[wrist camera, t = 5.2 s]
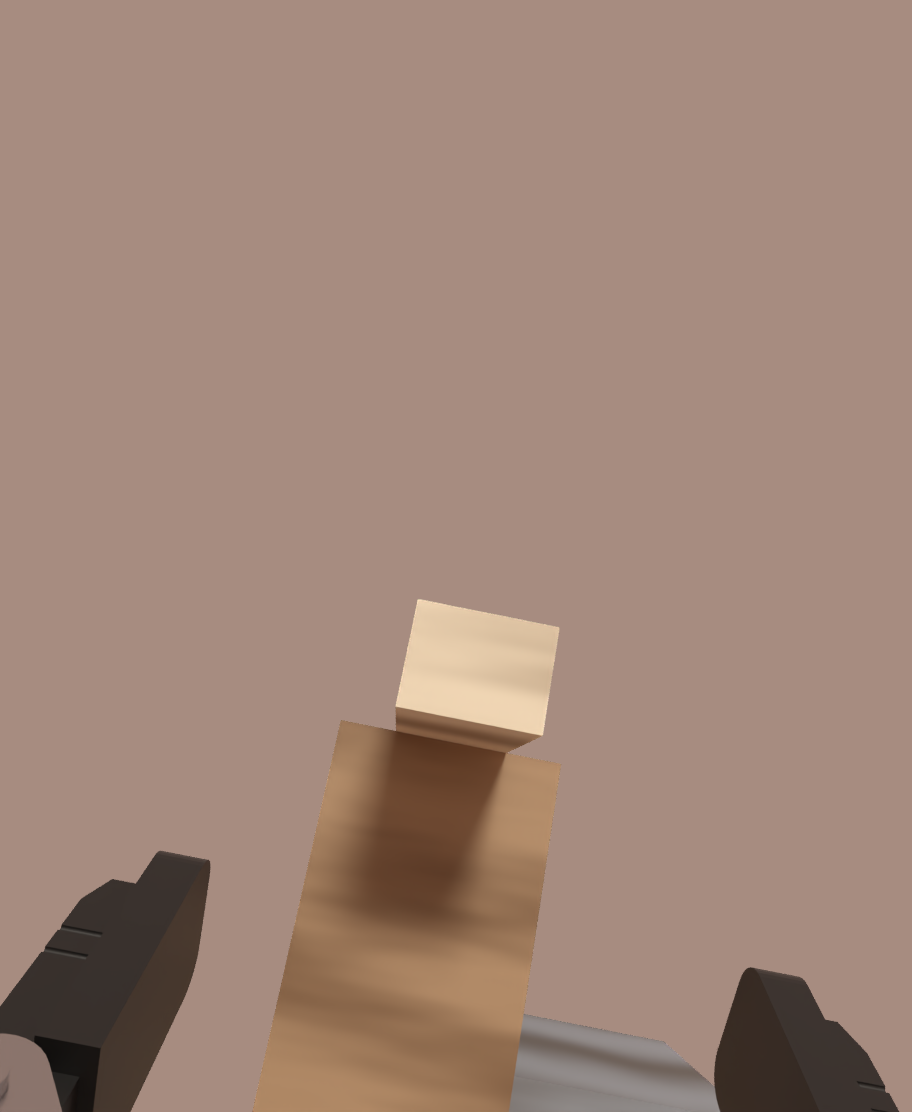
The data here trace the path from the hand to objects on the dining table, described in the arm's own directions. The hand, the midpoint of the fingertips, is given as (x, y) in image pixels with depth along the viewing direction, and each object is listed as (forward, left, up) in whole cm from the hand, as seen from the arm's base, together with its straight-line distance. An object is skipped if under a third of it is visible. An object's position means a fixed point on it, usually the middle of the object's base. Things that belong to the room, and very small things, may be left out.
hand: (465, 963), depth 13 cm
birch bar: (-14, +14, +4) cm, 20 cm away
